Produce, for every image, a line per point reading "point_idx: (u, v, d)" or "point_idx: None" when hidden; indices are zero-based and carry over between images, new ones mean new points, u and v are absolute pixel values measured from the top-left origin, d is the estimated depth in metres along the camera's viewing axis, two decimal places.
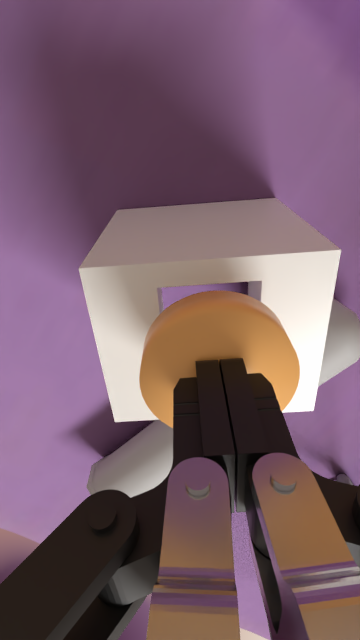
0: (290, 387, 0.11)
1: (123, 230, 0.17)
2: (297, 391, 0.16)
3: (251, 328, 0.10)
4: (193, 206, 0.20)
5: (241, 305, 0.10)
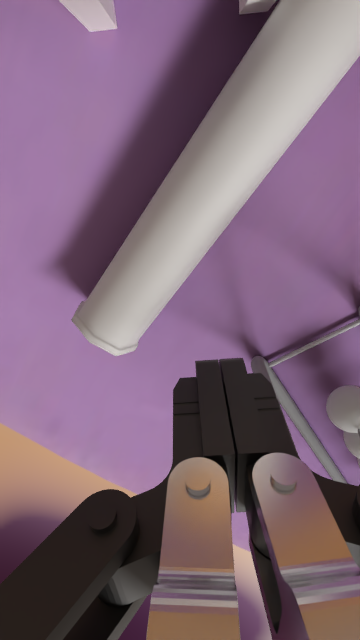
0: None
1: None
2: None
3: None
4: None
5: None
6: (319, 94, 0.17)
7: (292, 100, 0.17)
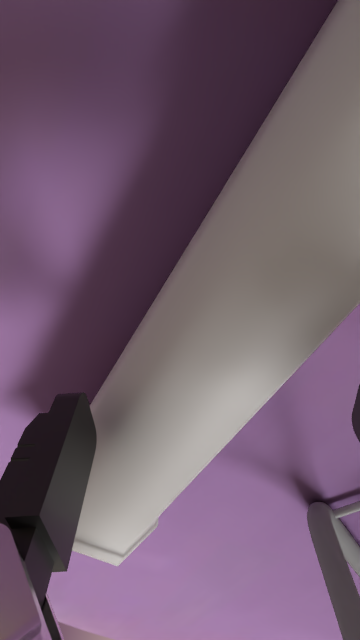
0: None
1: None
2: None
3: None
4: None
5: None
6: None
7: None
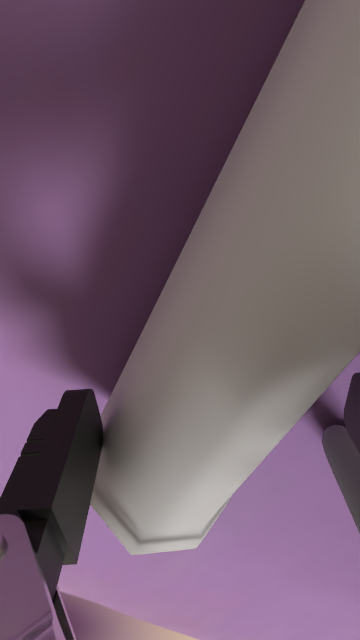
0: None
1: None
2: None
3: None
4: None
5: None
6: None
7: None
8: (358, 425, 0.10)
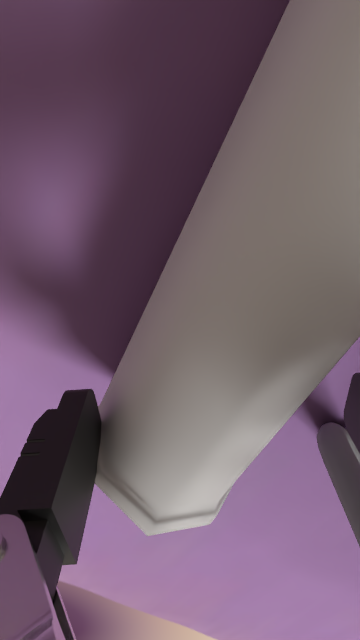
0: None
1: None
2: None
3: None
4: None
5: None
6: None
7: None
8: (358, 425, 0.10)
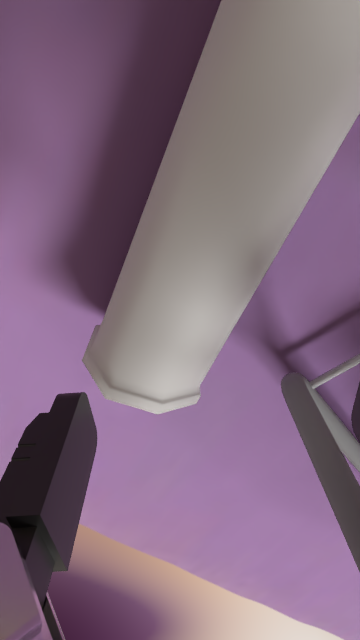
0: None
1: None
2: None
3: None
4: None
5: None
6: None
7: None
8: None
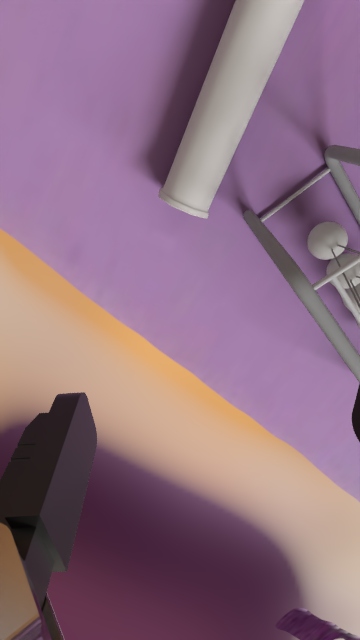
0: None
1: None
2: None
3: None
4: None
5: None
6: None
7: None
8: None
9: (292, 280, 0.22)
